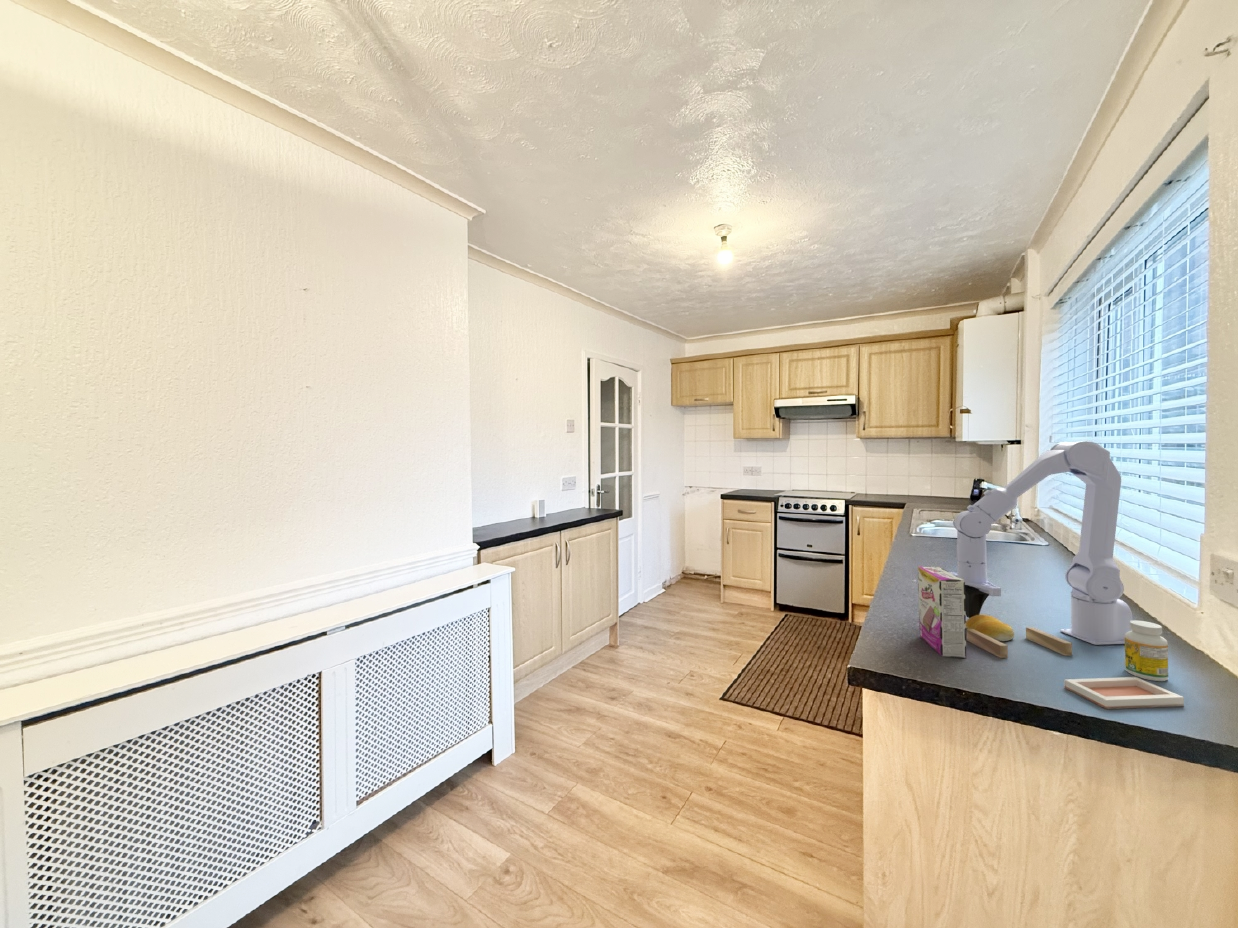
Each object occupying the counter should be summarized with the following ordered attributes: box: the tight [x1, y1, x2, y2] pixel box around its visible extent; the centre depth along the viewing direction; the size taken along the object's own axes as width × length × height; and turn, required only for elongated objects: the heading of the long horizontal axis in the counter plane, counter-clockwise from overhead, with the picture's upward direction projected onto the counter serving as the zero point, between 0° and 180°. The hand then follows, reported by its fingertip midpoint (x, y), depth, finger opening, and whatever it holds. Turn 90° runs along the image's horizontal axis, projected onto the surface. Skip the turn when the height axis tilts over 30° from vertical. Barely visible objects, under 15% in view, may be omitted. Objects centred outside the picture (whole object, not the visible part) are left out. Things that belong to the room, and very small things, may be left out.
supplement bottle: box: [1124, 619, 1169, 682], centre depth 87 cm, size 5×5×10 cm
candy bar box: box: [917, 566, 967, 659], centre depth 101 cm, size 11×5×16 cm, turn 168°
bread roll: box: [966, 614, 1015, 642], centre depth 108 cm, size 8×9×4 cm
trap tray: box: [1064, 676, 1185, 710], centre depth 80 cm, size 13×7×2 cm, turn 91°
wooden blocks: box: [966, 626, 1073, 659], centre depth 100 cm, size 15×9×2 cm, turn 91°
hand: (972, 617), depth 113 cm, fingers closed
